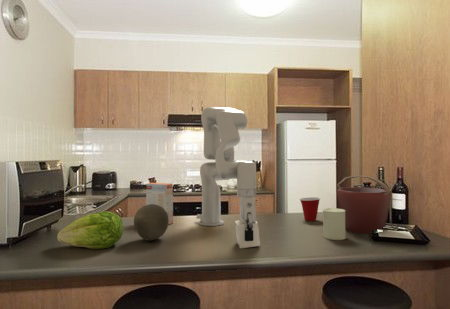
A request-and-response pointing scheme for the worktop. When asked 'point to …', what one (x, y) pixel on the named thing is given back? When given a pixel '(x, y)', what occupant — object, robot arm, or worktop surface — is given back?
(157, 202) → the cracker box
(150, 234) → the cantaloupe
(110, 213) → the lettuce
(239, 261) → the worktop surface
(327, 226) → the can
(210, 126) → the robot arm
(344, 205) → the bucket
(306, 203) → the plastic cup
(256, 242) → the white sugar cube
